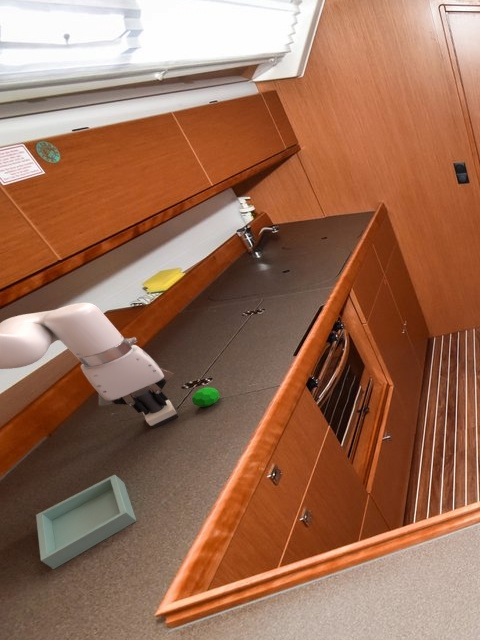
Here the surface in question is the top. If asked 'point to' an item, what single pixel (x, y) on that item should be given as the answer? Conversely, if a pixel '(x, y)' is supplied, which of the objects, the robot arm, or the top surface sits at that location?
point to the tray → (83, 521)
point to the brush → (156, 409)
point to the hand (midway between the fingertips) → (155, 407)
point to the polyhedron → (205, 397)
